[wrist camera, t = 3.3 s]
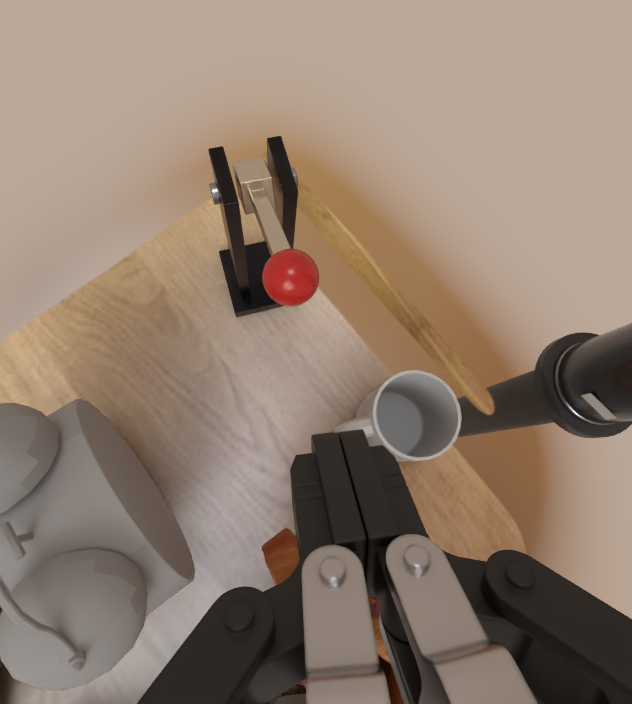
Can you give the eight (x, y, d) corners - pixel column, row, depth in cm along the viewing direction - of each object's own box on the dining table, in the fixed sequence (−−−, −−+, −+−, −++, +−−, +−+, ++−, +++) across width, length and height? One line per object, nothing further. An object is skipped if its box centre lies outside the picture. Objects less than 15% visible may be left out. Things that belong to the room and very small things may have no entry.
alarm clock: (40, 458, 40) (-223, 449, 19) (126, 403, 42) (-24, 340, 21) (133, 621, 38) (-49, 821, 16) (221, 555, 39) (159, 659, 18)
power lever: (326, 310, 26) (325, 267, 23) (272, 323, 25) (265, 281, 23) (274, 191, 33) (269, 150, 31) (232, 199, 33) (223, 158, 30)
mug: (405, 632, 39) (481, 729, 25) (331, 697, 38) (366, 842, 23) (311, 492, 42) (330, 506, 27) (237, 547, 40) (215, 592, 25)
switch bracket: (302, 301, 46) (318, 204, 29) (236, 317, 45) (212, 226, 28) (284, 242, 48) (290, 117, 31) (220, 256, 47) (188, 134, 30)
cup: (433, 452, 44) (472, 449, 35) (335, 476, 42) (351, 479, 34) (413, 381, 45) (446, 362, 37) (318, 402, 44) (329, 387, 35)
